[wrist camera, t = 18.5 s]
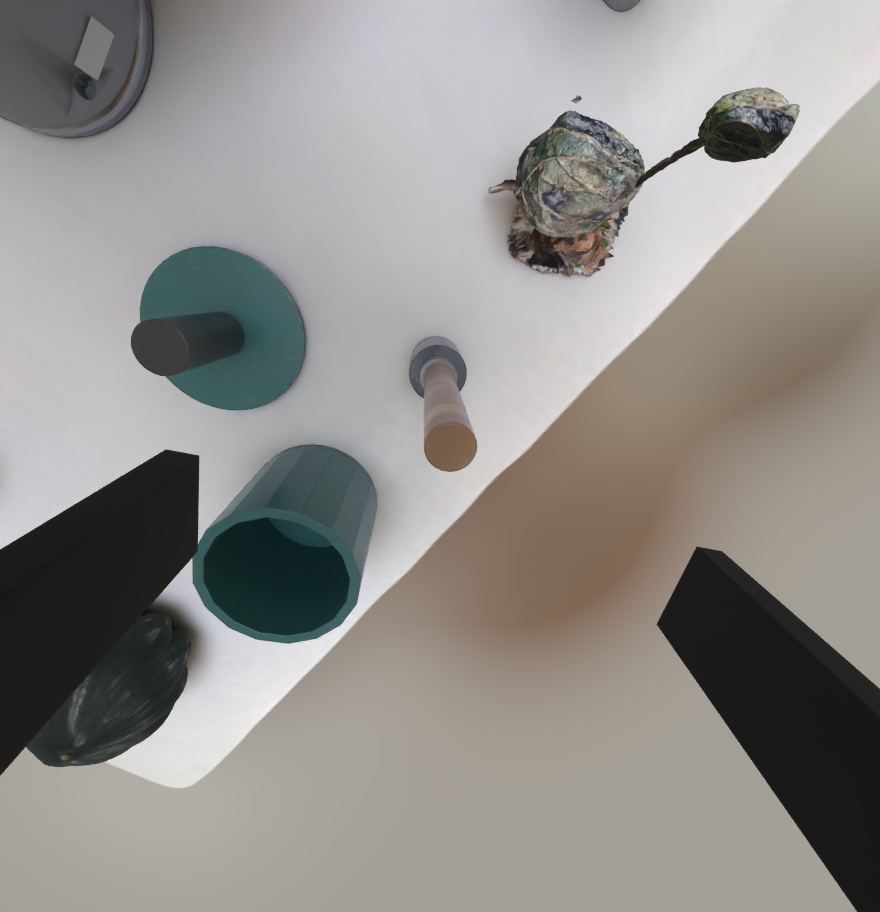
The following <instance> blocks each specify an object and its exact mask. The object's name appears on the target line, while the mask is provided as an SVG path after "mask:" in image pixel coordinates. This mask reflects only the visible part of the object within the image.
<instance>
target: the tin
mask: <svg viewBox="0 0 880 912" xmlns="http://www.w3.org/2000/svg"><path fill="white" fill-rule="evenodd" d="M376 508H377V496H376V491H375V488H374V485H373V482H372V480H371V478H370V477H369V475H368V474H367V472H366V471H365V469H364V468H363V467H362V466H361V465H360V464H359V463H358V462H357V461H355V460H354V459H353V458H351V457H350V456H348V455H347V454H345V453H343V452H341V451H339V450H336V449H333V448H330V447H326V446H320V445H303V446H297V447H293V448H290V449H288V450H285V451H283V452H281V453H280V454H278V455H276V456H275V457H274V458H273V459H271V460H270V461H269V462H267V463H266V464H265V465H264V466H263V467H262V469H261V470H260V471H259V472H258V473H257V474H256V475H255V476H254V477H253V479H252V480H251V481H250V482H249V483H248V484H247V485H246V486H245V487H244V489H243V490H242V491H241V492H240V493H239V494H238V495H237V496H236V497H235V499H234V500H233V501H232V502H231V503H230V504H229V505H228V506H227V508H226V509H225V510H224V511H223V512H222V513H221V514H220V515H219V516H218V518H217V519H216V520H215V521H214V522H213V523H212V524H211V525H210V526H209V528H208V529H207V530H206V531H205V533H204V534H203V536H202V538H201V540H200V542H199V544H198V552H197V553H196V554H195V555H194V556H193V584H194V586H195V588H196V590H197V592H198V594H199V596H200V598H201V600H202V602H203V604H204V605H205V607H206V608H207V609H208V610H209V611H211V612H212V613H213V614H214V615H215V616H216V617H217V618H218V619H220V620H221V621H222V622H223V623H224V624H225V625H226V626H227V627H229V628H231V629H233V630H236V631H238V632H240V633H242V634H245V635H247V636H249V637H252V638H254V639H257V640H264V641H272V642H280V643H288V644H289V643H294V642H300V641H306V640H311V639H317V638H319V637H320V636H322V635H324V634H326V633H327V632H329V631H331V630H333V629H334V628H336V627H338V626H340V625H341V624H342V623H343V622H344V620H345V619H346V618H347V616H348V615H349V614H350V612H351V611H352V610H353V608H354V607H355V606H356V604H357V600H358V596H359V591H360V586H361V581H362V577H363V572H364V567H365V562H366V558H367V553H368V548H369V543H370V539H371V534H372V529H373V524H374V519H375V513H376Z"/></svg>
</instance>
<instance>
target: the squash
mask: <svg viewBox="0 0 880 912" xmlns="http://www.w3.org/2000/svg"><path fill="white" fill-rule="evenodd" d="M190 647H191V641H190V639H189V637H188V636H187V635H186V634H185V633H184V632H181V631H178V630H172V621H171V618H170V617H169V616H168V615H166V614H161V613H153V614H147V615H143V616H142V615H141V616H140V617H139V619H138V620H137V621H136V622H135V623H134V624H133V625H132V626H131V628H130V629H129V630H128V631H127V632H126V633H125V634H124V636H123V637H122V638H121V639H120V640H119V641H118V642H117V644H116V645H115V646H114V647H113V648H112V649H111V650H110V651H109V653H108V654H107V655H106V656H105V657H104V658H103V659H102V661H101V662H100V663H99V664H98V665H97V666H96V667H95V669H94V670H93V671H92V672H91V673H90V674H89V675H88V676H87V678H86V679H85V680H84V681H83V682H82V683H81V684H80V686H79V687H78V688H77V689H76V690H75V691H74V692H73V693H72V695H71V696H70V697H69V698H68V699H67V700H66V701H65V703H64V704H63V705H62V706H61V707H60V708H59V709H58V711H57V712H56V713H55V714H54V715H53V716H52V717H51V718H50V720H49V721H48V722H47V723H46V724H45V725H44V726H43V728H42V729H41V730H40V731H39V732H38V733H37V734H36V736H35V737H34V738H33V739H32V740H31V741H30V742H29V743H28V745H27V746H26V747H27V748H28V750H30V752H32V753H33V754H34V755H35V756H36V757H37V758H38V759H39V760H40V761H41V762H43V763H44V764H45V765H48V766H54V767H65V766H83V765H91V764H97V763H101V762H105V761H107V760H109V759H112V758H114V757H116V756H118V755H120V754H122V753H124V752H125V751H127V750H128V749H129V748H131V747H132V746H134V745H136V744H138V743H140V742H142V741H144V740H145V739H146V738H148V737H149V736H151V735H152V734H153V733H154V732H155V731H156V730H157V729H158V728H159V727H160V726H161V725H162V724H163V723H164V722H165V720H166V719H167V717H168V716H169V714H170V712H171V710H172V709H173V706H174V704H175V702H176V701H177V699H178V698H179V697H180V695H181V693H182V692H183V690H184V687H185V685H186V682H187V676H188V669H187V666H186V664H187V660H188V656H189V654H190Z"/></svg>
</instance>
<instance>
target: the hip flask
mask: <svg viewBox="0 0 880 912" xmlns="http://www.w3.org/2000/svg"><path fill="white" fill-rule="evenodd" d="M604 1H605V2H606V3H607V4H608V5H609V6H610V7H611V8H612V9H614V10H616V11H626V10H629V9H631V8H633V7H634V6H635V5H636V4H637V3H638V2H639V1H640V0H604Z"/></svg>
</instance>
